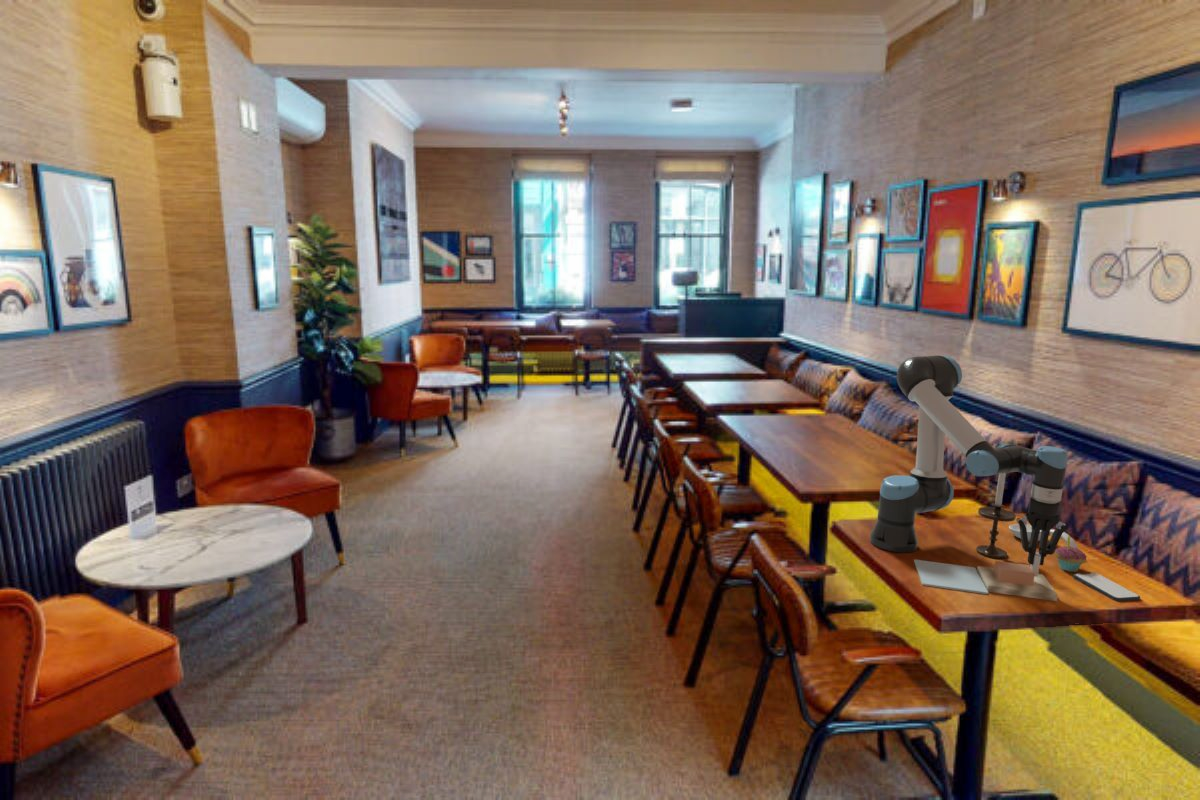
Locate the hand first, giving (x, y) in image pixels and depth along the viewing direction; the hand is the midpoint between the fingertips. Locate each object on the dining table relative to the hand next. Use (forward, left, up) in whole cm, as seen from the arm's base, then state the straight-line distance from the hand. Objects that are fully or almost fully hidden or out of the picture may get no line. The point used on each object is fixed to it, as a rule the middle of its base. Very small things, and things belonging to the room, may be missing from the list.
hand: (1033, 574), depth 205 cm
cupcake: (+16, +20, -5) cm, 26 cm away
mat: (-22, 0, -4) cm, 23 cm away
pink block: (-5, 0, -2) cm, 6 cm away
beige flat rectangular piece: (-4, 0, -4) cm, 6 cm away
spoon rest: (+14, +39, -5) cm, 42 cm away
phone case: (+22, +8, -5) cm, 24 cm away
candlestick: (-5, +25, -5) cm, 26 cm away
